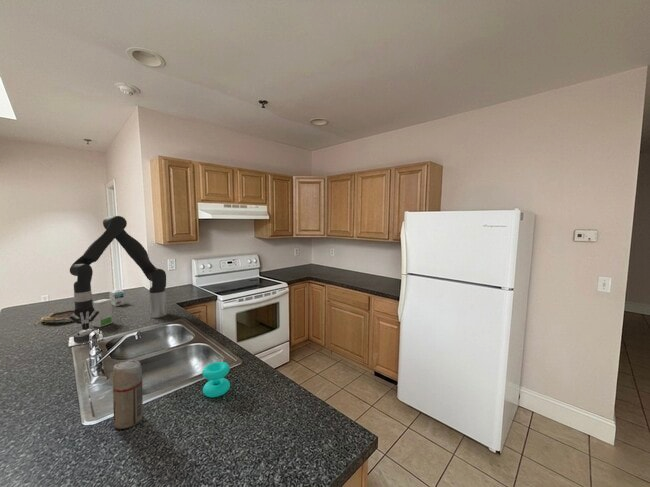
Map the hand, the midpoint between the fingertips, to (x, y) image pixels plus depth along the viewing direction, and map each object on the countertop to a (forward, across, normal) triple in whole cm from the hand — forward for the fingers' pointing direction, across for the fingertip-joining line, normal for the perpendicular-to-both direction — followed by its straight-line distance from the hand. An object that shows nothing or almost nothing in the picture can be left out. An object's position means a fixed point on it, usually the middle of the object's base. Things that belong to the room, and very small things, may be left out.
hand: (85, 329), depth 151 cm
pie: (+6, +10, -48) cm, 49 cm away
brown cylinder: (+6, -10, +91) cm, 92 cm away
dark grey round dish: (+5, 0, 0) cm, 5 cm away
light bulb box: (+6, -19, -66) cm, 69 cm away
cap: (+5, 0, 0) cm, 5 cm away
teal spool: (+6, -38, +94) cm, 101 cm away
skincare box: (+6, -8, -21) cm, 23 cm away
